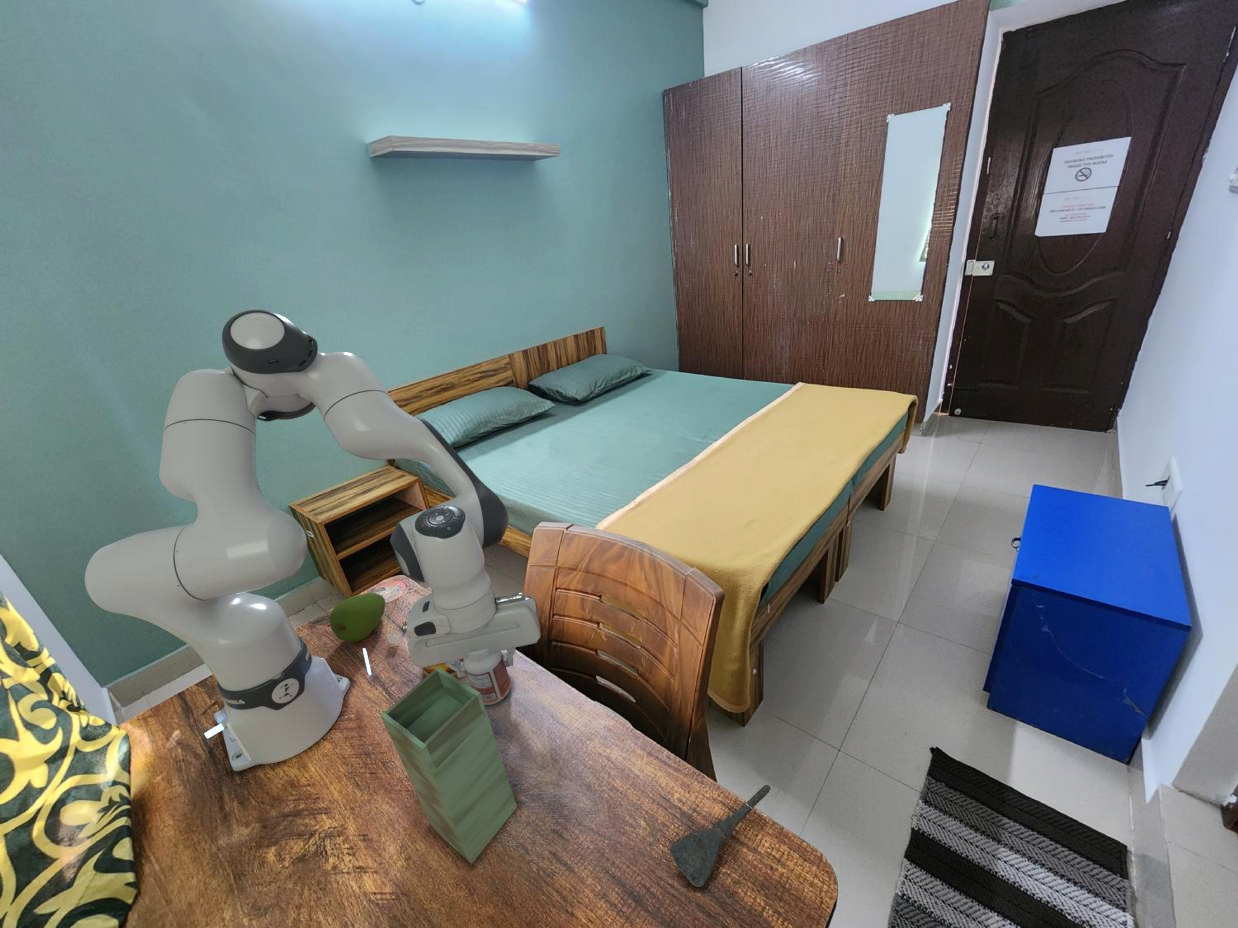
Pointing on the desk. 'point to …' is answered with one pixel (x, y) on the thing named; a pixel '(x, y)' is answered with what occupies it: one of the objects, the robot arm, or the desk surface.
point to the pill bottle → (487, 675)
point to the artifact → (709, 843)
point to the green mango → (357, 616)
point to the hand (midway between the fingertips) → (486, 668)
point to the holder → (452, 761)
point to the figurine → (393, 637)
